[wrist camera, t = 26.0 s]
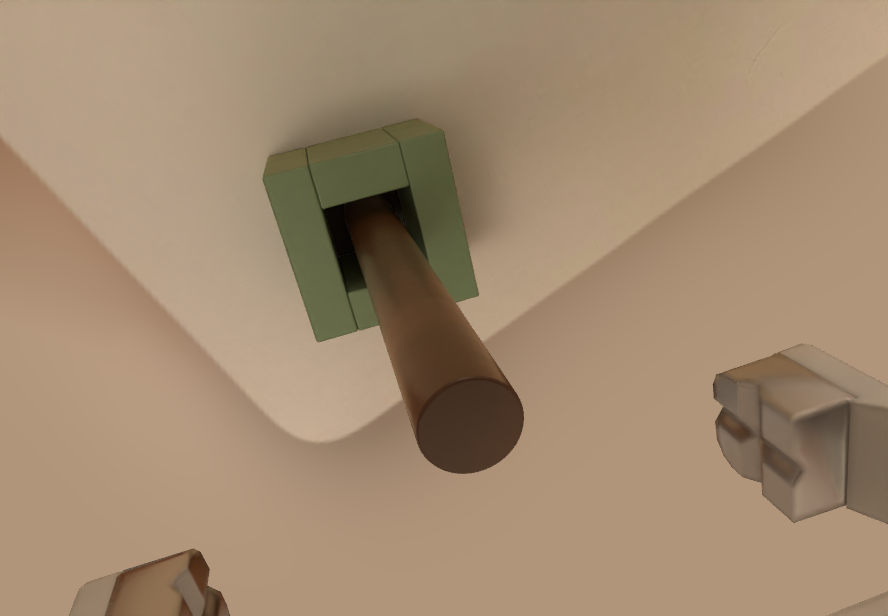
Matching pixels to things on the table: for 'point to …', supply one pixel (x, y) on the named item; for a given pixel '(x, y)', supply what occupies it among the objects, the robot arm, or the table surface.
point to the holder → (356, 177)
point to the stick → (433, 348)
